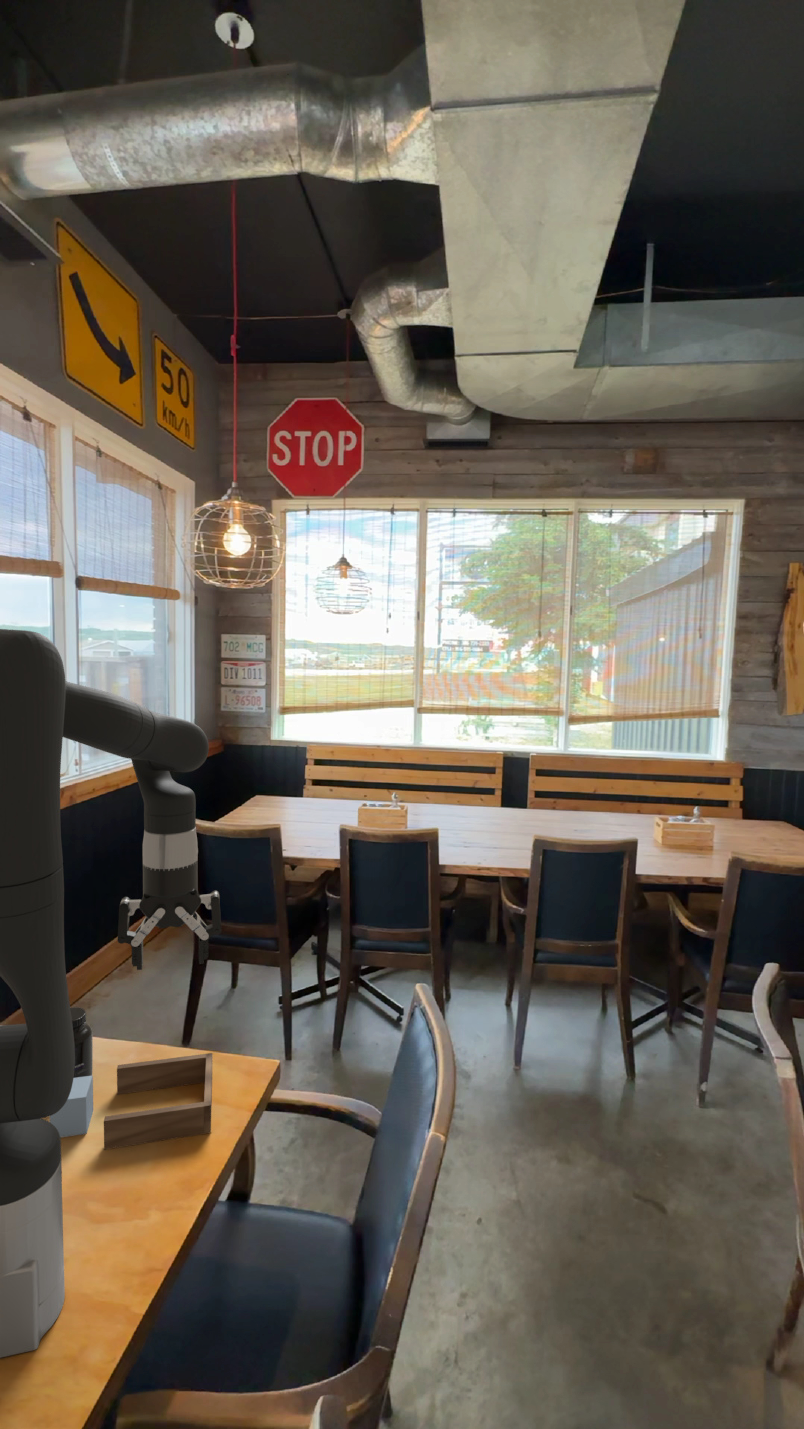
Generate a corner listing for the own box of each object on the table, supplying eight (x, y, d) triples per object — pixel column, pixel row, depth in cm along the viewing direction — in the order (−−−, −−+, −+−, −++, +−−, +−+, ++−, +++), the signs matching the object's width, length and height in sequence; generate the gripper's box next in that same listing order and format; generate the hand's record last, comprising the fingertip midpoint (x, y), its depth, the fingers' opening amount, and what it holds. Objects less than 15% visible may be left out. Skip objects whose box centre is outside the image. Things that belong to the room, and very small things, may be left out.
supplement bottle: (70, 1100, 105) (68, 1030, 104) (37, 1089, 107) (35, 1021, 106) (102, 1074, 112) (101, 1008, 110) (71, 1064, 114) (69, 1000, 112)
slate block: (86, 1133, 98) (85, 1096, 98) (50, 1139, 97) (49, 1101, 96) (93, 1110, 103) (92, 1075, 102) (58, 1115, 102) (57, 1079, 101)
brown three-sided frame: (210, 1132, 99) (210, 1105, 99) (104, 1149, 95) (103, 1121, 95) (212, 1077, 112) (212, 1052, 111) (118, 1090, 108) (117, 1065, 107)
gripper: (113, 870, 89) (115, 983, 91) (221, 863, 93) (221, 971, 95) (120, 853, 96) (122, 957, 98) (220, 847, 100) (220, 948, 102)
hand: (171, 964), depth 96 cm, fingers open, 8 cm apart
